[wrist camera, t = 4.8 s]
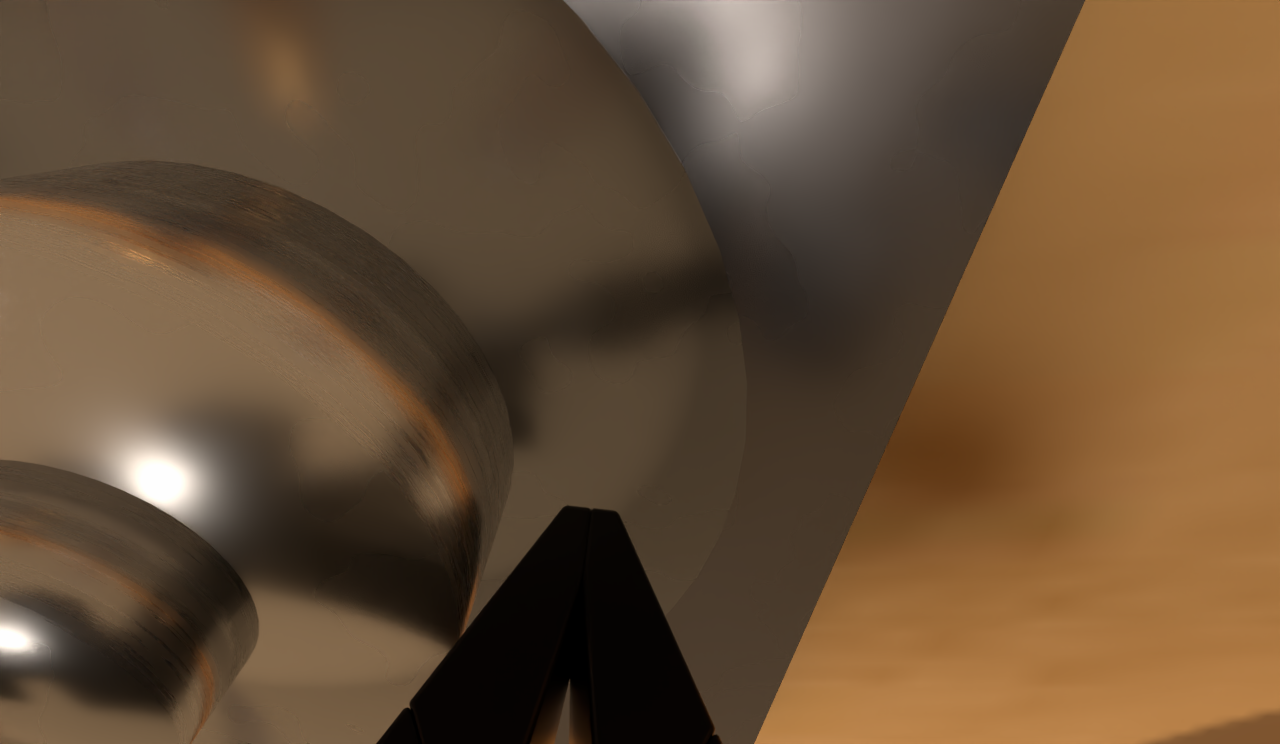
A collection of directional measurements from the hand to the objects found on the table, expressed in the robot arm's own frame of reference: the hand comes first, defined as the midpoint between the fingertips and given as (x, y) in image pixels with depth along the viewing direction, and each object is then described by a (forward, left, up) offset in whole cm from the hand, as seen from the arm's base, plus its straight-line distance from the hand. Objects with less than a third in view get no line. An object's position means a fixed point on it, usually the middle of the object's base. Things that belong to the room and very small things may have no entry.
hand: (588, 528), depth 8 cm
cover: (+5, 0, -1) cm, 5 cm away
